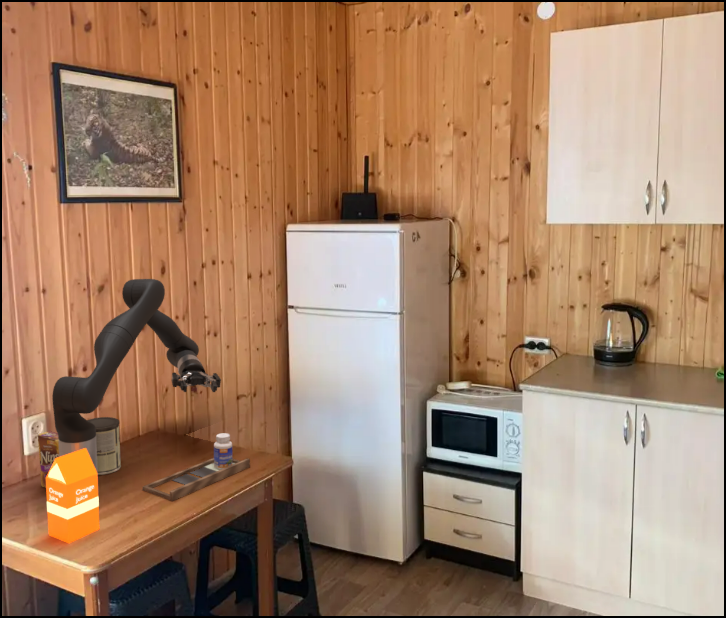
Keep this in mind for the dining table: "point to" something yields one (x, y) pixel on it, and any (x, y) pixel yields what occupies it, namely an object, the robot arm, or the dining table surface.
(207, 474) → the tray
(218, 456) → the pill bottle
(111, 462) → the coffee can
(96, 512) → the orange juice
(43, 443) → the candy box
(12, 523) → the dining table surface
